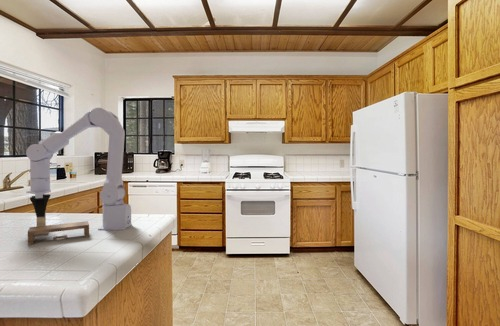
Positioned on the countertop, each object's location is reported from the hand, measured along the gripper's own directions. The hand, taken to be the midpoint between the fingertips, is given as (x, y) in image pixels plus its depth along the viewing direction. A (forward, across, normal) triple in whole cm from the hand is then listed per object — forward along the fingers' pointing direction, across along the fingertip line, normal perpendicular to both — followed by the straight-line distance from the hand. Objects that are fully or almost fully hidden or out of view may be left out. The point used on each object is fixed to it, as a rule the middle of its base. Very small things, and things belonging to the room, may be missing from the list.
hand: (40, 215), depth 103 cm
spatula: (+5, +4, 0) cm, 7 cm away
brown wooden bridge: (+5, +17, +6) cm, 19 cm away
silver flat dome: (+5, +17, +6) cm, 19 cm away
